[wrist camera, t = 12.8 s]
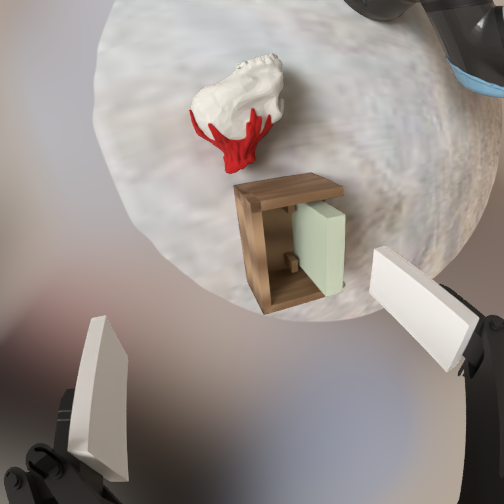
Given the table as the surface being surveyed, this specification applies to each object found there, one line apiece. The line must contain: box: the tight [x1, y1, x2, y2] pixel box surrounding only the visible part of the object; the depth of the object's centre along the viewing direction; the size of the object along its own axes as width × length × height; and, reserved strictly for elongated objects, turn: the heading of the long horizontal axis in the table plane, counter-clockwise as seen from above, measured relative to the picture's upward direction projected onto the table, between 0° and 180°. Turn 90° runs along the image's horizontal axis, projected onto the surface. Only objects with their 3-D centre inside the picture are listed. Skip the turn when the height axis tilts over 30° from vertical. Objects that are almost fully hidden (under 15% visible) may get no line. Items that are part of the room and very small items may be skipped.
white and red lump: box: [189, 53, 284, 174], centre depth 32 cm, size 9×11×15 cm
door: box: [291, 200, 345, 297], centre depth 39 cm, size 11×2×11 cm, turn 6°
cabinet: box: [233, 173, 345, 315], centre depth 41 cm, size 16×13×9 cm
